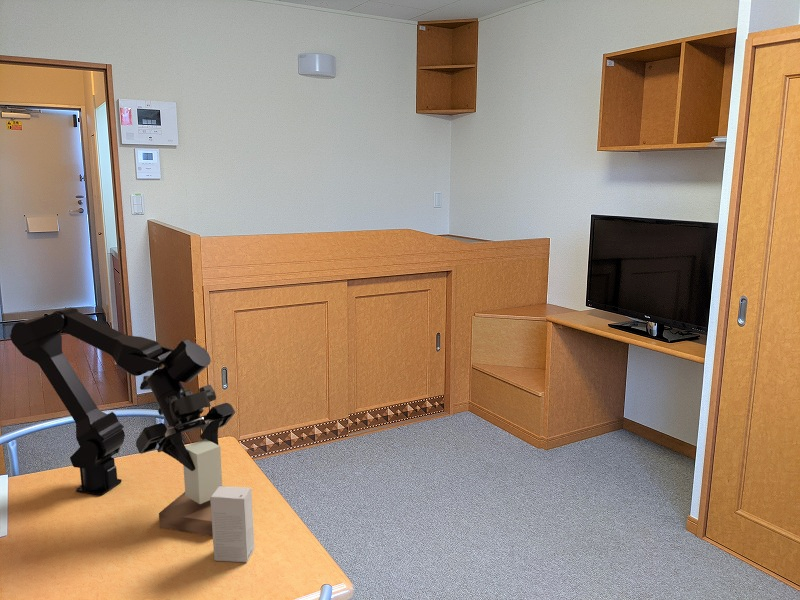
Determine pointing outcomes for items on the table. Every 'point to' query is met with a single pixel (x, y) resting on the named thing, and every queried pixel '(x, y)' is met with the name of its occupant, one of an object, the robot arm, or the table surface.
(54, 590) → the table surface
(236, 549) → the skincare box
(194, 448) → the pale grey tall block
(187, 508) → the walnut block
